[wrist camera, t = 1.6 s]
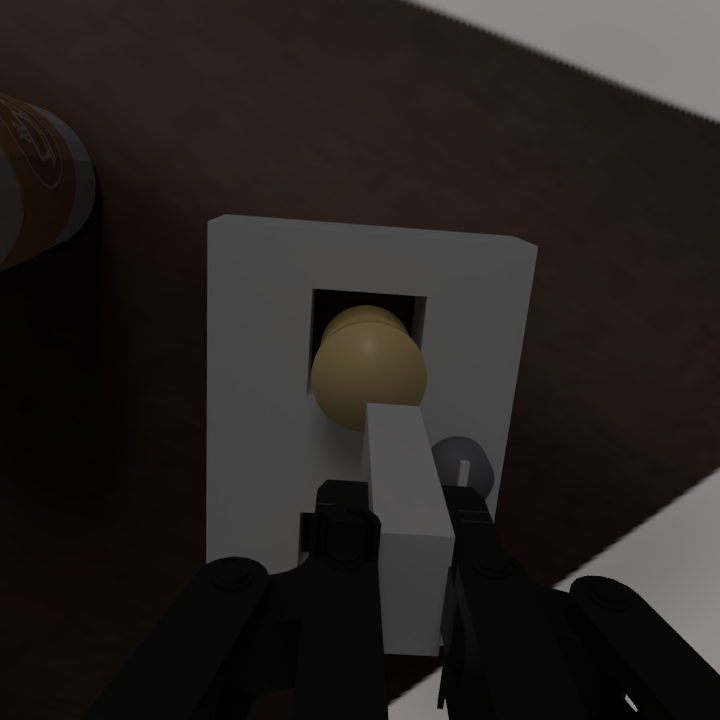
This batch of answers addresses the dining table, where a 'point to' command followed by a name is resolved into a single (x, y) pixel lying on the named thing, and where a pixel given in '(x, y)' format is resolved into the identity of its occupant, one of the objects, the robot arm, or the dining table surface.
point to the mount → (293, 369)
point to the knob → (366, 366)
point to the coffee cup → (39, 181)
